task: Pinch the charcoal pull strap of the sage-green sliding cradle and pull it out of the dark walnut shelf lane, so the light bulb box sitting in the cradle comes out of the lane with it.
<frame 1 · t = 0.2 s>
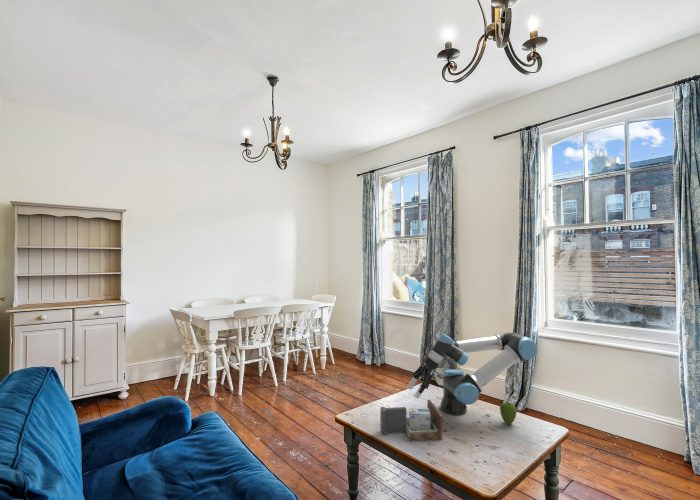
hand: (412, 392, 199), 16 cm above the table, tool tilted 35°, fingers open, 13 cm apart
pull cradle: (407, 419, 189), point 6 cm above the table, slide at 0.0 cm
light bulb box: (419, 431, 189), resting in pull cradle
shelf lane: (421, 430, 189), on the table
green rounded lump: (508, 423, 198), on the table
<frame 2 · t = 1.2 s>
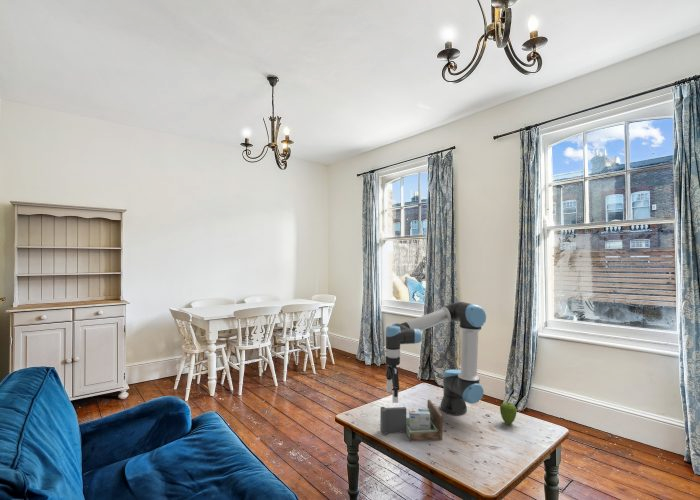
hand: (392, 397, 188), 18 cm above the table, tool pointing down, fingers open, 13 cm apart
nothing on the table moved.
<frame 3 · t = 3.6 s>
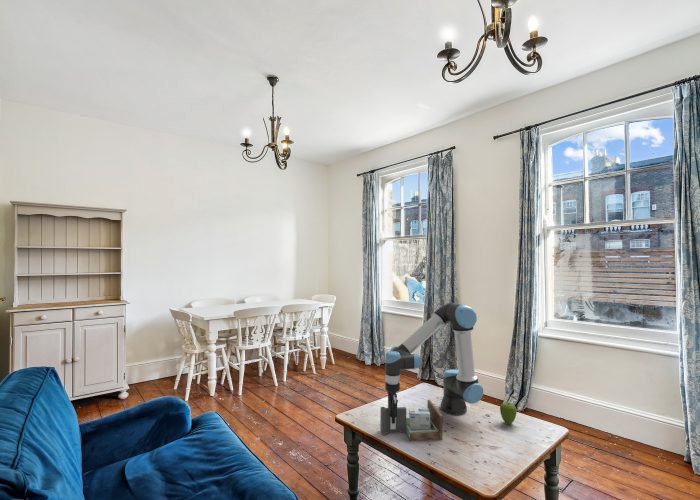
hand: (392, 427, 188), 2 cm above the table, tool pointing down, fingers closed on pull cradle, 2 cm apart
pull cradle: (407, 419, 189), point 6 cm above the table, slide at 0.0 cm, touching gripper
everything else where it was.
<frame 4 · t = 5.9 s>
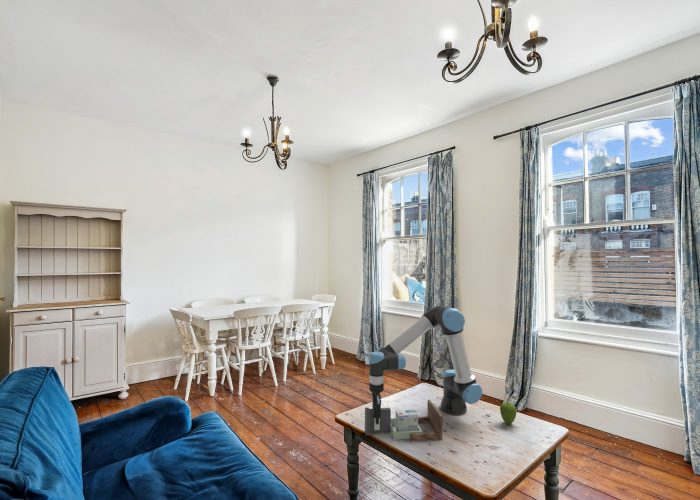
hand: (376, 428, 187), 2 cm above the table, tool pointing down, fingers closed on pull cradle, 2 cm apart
pull cradle: (391, 420, 188), point 6 cm above the table, slide at 8.4 cm, touching gripper, light bulb box
light bulb box: (406, 433, 187), resting in pull cradle
everything else where it was.
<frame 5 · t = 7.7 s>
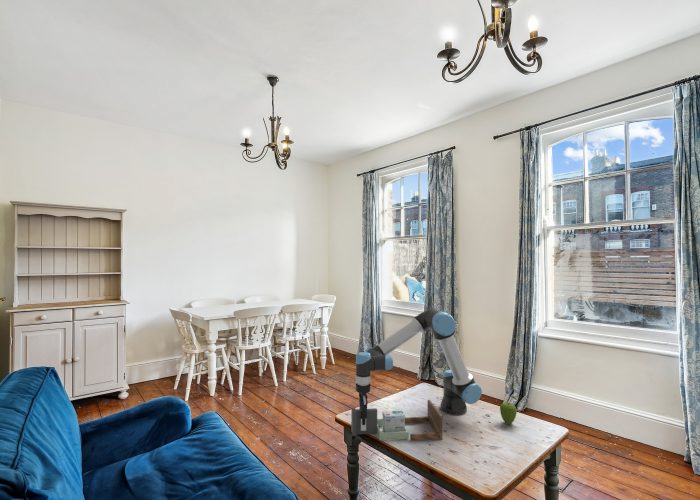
hand: (363, 428, 186), 2 cm above the table, tool pointing down, fingers closed on pull cradle, 2 cm apart
pull cradle: (378, 420, 187), point 6 cm above the table, slide at 15.4 cm, touching gripper
light bulb box: (393, 433, 186), resting in pull cradle
everything else where it was.
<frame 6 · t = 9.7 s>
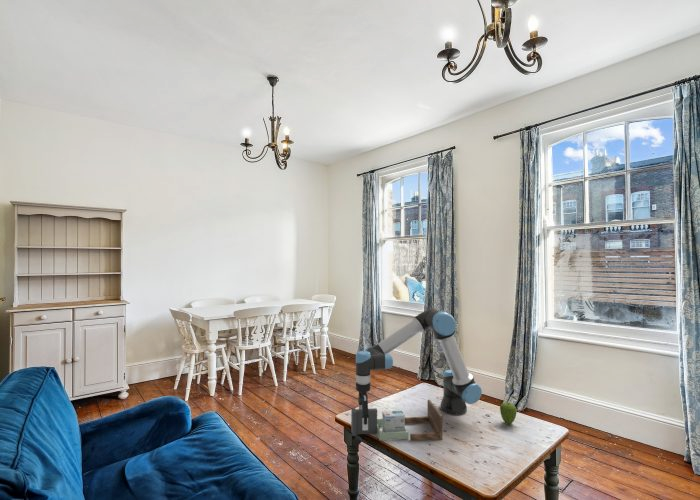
hand: (363, 423, 186), 5 cm above the table, tool pointing down, fingers open, 13 cm apart
pull cradle: (378, 420, 187), point 6 cm above the table, slide at 15.4 cm
everything else where it was.
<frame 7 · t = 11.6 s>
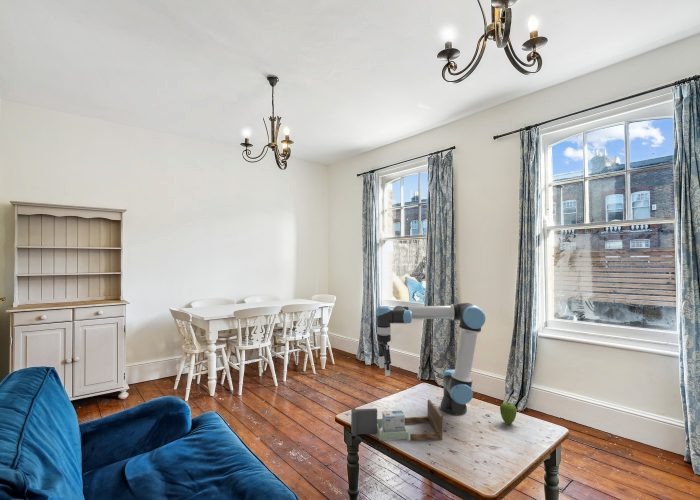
hand: (384, 371, 204), 26 cm above the table, tool pointing down, fingers open, 13 cm apart
nothing on the table moved.
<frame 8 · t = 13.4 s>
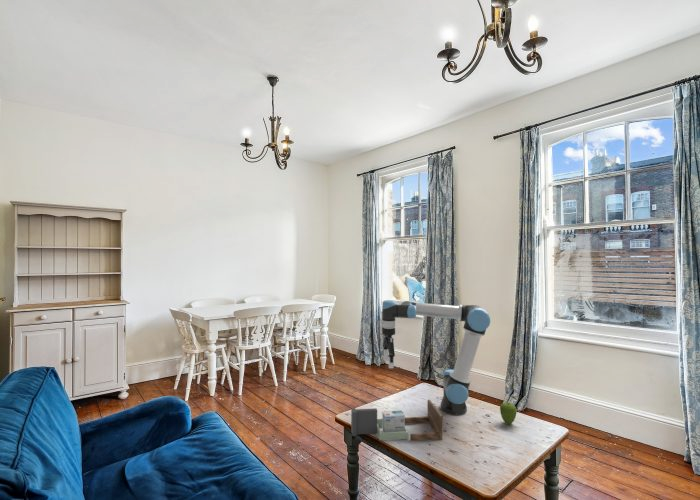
hand: (388, 364, 209), 29 cm above the table, tool pointing down, fingers open, 13 cm apart
nothing on the table moved.
at the end: light bulb box inside the target area (3.1 cm from its centre), resting in pull cradle; light bulb box tilted 0°; pull cradle slide at 15.4 cm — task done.
